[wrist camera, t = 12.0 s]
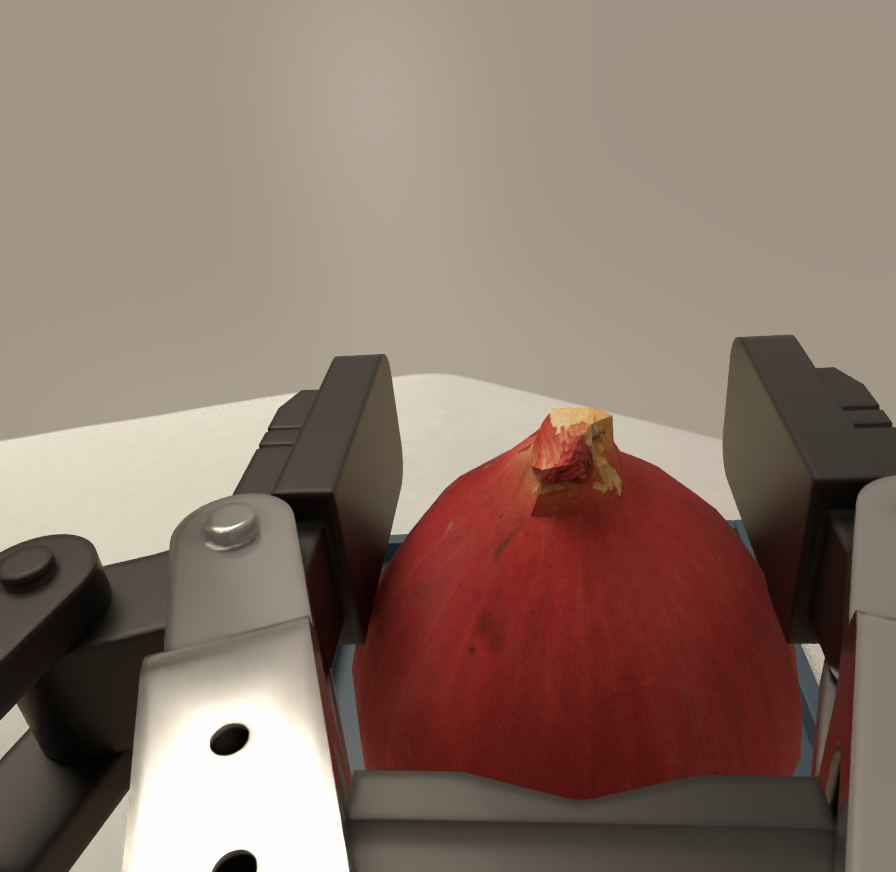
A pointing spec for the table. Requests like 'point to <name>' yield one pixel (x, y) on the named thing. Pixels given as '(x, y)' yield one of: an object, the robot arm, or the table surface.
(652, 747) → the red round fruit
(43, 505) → the table surface
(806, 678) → the tray
